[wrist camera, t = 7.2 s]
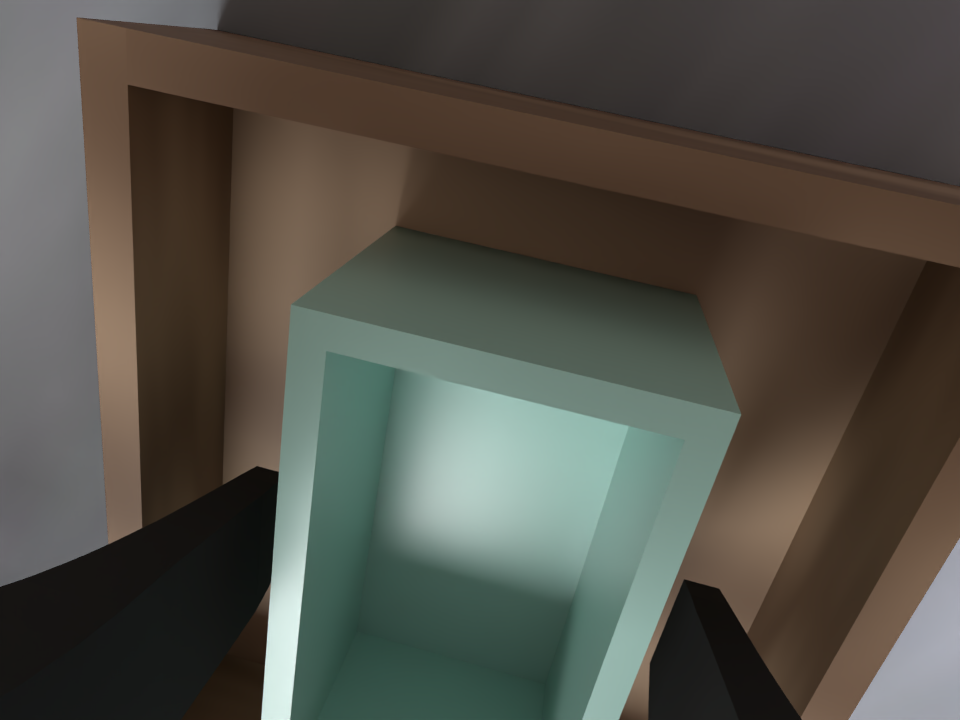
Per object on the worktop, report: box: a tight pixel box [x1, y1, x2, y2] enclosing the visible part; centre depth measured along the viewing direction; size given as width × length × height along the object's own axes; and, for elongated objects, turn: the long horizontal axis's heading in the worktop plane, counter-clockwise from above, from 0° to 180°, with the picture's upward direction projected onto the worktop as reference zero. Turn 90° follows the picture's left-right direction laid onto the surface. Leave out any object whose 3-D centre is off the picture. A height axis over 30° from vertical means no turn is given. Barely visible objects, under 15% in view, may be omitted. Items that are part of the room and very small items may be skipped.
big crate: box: [77, 18, 960, 720], centre depth 13 cm, size 15×13×4 cm
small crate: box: [261, 226, 741, 720], centre depth 12 cm, size 10×6×4 cm, turn 170°
